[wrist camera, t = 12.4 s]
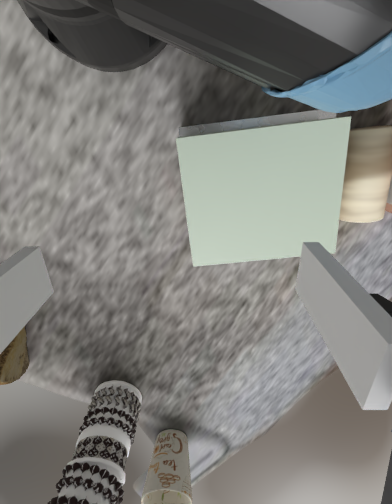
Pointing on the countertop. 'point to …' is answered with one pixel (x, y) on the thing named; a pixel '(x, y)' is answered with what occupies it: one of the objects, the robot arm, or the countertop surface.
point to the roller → (367, 174)
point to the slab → (263, 189)
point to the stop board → (388, 207)
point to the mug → (169, 471)
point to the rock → (14, 359)
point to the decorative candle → (102, 447)
